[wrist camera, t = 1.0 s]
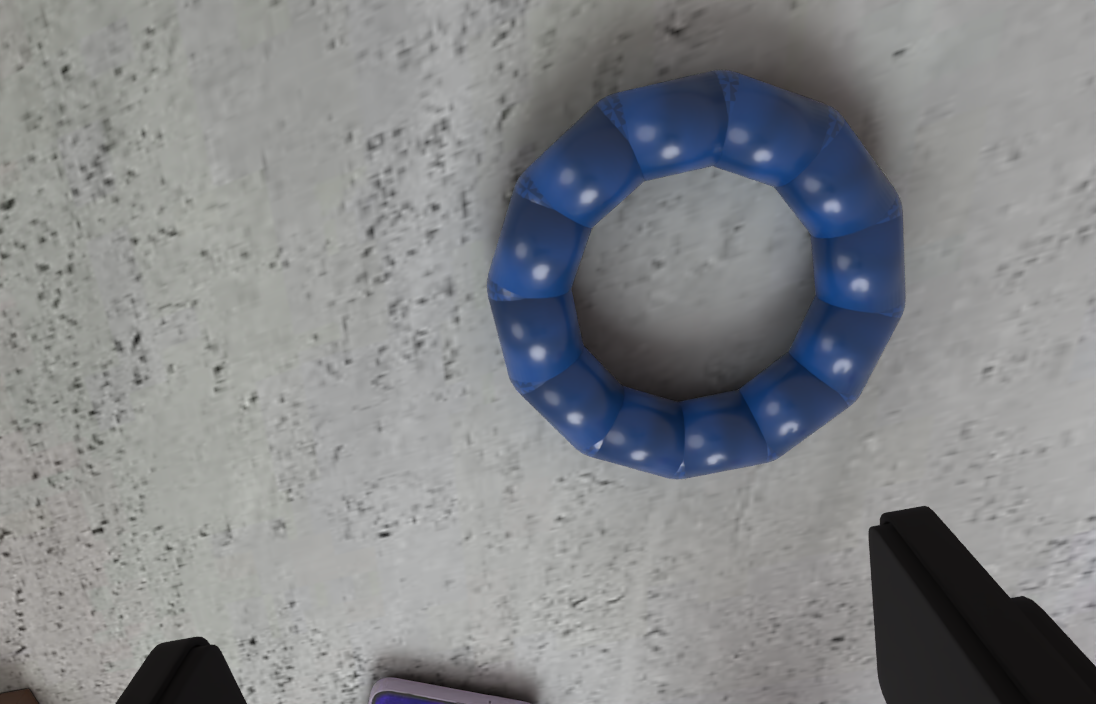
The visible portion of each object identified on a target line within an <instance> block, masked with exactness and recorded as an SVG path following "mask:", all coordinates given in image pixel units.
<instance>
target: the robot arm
mask: <svg viewBox="0 0 1096 704" xmlns="http://www.w3.org/2000/svg"><path fill="white" fill-rule="evenodd" d="M869 550H870V565H871V580H872V595H873V610H874V625H875V641H876V656H877V671H878V679H879V683H880V687H881V690H882V693H883V696H884V698H885V701H886V703H887V704H1096V666H1095V665H1094V664H1093V663H1092V662H1091V661H1090V660H1089V659H1088V658H1087V657H1086V656H1085V654H1084V653H1083V652H1082V651H1081V650H1080V649H1079V648H1078V647H1077V646H1076V645H1075V644H1074V643H1073V641H1072V640H1071V639H1070V638H1069V637H1068V636H1067V635H1066V634H1065V633H1064V632H1063V631H1062V630H1061V629H1060V627H1059V626H1058V625H1057V624H1056V623H1055V622H1054V621H1053V620H1052V619H1051V618H1050V617H1049V616H1048V614H1047V613H1046V612H1045V611H1044V610H1043V609H1042V608H1041V607H1040V606H1038V605H1037V604H1036V603H1035V602H1034V601H1033V600H1031V599H1029V598H1026V597H1024V596H1021V597H1015V598H1010V597H1009V596H1008V595H1007V594H1006V593H1005V592H1004V590H1003V589H1002V588H1001V587H1000V586H999V585H998V584H997V583H996V581H995V580H994V579H993V578H992V577H991V576H990V575H989V573H988V572H987V571H986V570H985V569H984V568H983V567H982V566H981V564H980V563H979V562H978V561H977V560H976V559H975V558H974V557H973V555H972V554H971V553H970V552H969V551H968V550H967V549H966V547H965V546H964V545H963V544H962V543H961V542H960V541H959V540H958V538H957V537H956V536H955V535H954V534H953V533H952V532H951V531H950V529H949V528H948V527H947V526H946V525H945V524H944V523H943V521H942V520H941V519H940V518H939V517H938V516H937V515H936V514H935V512H934V511H933V510H931V509H930V508H929V507H927V506H921V507H915V508H910V509H904V510H899V511H893V512H887V513H884V514H882V515H881V518H880V525H878V526H873V527H870V529H869ZM116 704H247V703H246V701H245V699H244V697H243V695H242V693H241V691H240V689H239V687H238V685H237V683H236V681H235V679H234V677H233V675H232V673H231V670H230V668H229V666H228V664H227V662H226V660H225V658H224V656H223V654H222V652H221V651H220V649H219V648H218V647H217V646H216V645H210V644H209V642H208V641H207V640H206V639H204V638H203V637H192V638H187V639H181V640H175V641H170V642H164V643H161V644H159V645H157V646H156V647H155V648H154V649H153V650H152V651H151V653H150V654H149V656H148V657H147V658H146V660H145V661H144V663H143V664H142V666H141V667H140V669H139V670H138V672H137V673H136V674H135V676H134V677H133V679H132V680H131V682H130V683H129V685H128V686H127V688H126V689H125V691H124V692H123V693H122V695H121V696H120V698H119V699H118V701H117V702H116Z"/></svg>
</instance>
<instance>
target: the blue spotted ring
mask: <svg viewBox="0 0 1096 704" xmlns="http://www.w3.org/2000/svg"><path fill="white" fill-rule="evenodd" d="M711 166H714V167H717V168H720V169H723V170H726V171H729V172H732V173H735V174H738V175H741V176H744V177H747V178H750V179H753V180H756V181H759V182H762V183H764V184H767V185H770V186H773V187H774V188H775V189H776V190H777V192H778V193H779V194H780V195H781V197H782V198H783V199H784V201H785V202H786V203H787V204H788V206H789V207H790V208H791V209H792V211H793V212H794V213H795V215H796V216H797V217H798V218H799V220H800V221H801V222H802V224H803V225H804V226H805V227H806V229H807V230H808V231H809V233H810V234H811V244H812V256H813V268H814V280H815V292H816V295H815V297H814V299H813V301H812V303H811V305H810V307H809V309H808V312H807V314H806V316H805V318H804V320H803V322H802V324H801V326H800V328H799V331H798V333H797V335H796V337H795V339H794V341H793V343H792V345H791V347H790V350H789V351H788V352H787V353H785V354H784V355H783V356H782V357H780V358H779V359H778V360H776V361H775V362H774V363H772V364H771V365H770V366H769V367H767V368H766V369H765V370H763V371H762V372H761V373H759V374H758V375H757V376H755V377H754V378H753V379H752V380H750V381H749V382H748V383H746V384H745V385H744V386H742V387H741V388H740V389H739V390H735V391H730V392H725V393H720V394H715V395H710V396H705V397H700V398H695V399H689V400H684V401H679V402H677V401H673V400H670V399H666V398H663V397H659V396H656V395H653V394H649V393H646V392H642V391H639V390H635V389H632V388H628V387H625V386H622V385H621V384H620V383H619V382H618V381H617V380H616V379H615V378H614V377H613V376H612V375H611V374H610V373H609V372H608V371H607V370H606V369H605V367H604V366H603V365H602V364H601V363H600V362H599V361H598V360H597V359H596V358H595V357H594V356H593V355H592V354H591V353H590V352H589V351H588V350H587V349H586V348H585V347H584V346H583V341H582V337H581V332H580V327H579V323H578V318H577V313H576V309H575V304H574V299H573V295H572V290H571V288H572V285H573V282H574V279H575V276H576V273H577V270H578V267H579V264H580V261H581V259H582V256H583V253H584V250H585V247H586V244H587V241H588V238H589V235H590V232H591V229H592V227H593V226H594V225H596V224H597V223H598V222H599V221H600V220H601V219H602V218H603V217H605V216H606V215H607V214H608V213H609V212H610V211H611V210H612V209H614V208H615V207H616V206H617V205H618V204H619V203H620V202H621V201H623V200H624V199H625V198H626V197H627V196H628V195H629V194H630V193H632V192H633V191H634V190H635V189H636V188H637V187H638V186H639V185H641V184H642V183H643V182H644V181H647V180H652V179H656V178H661V177H665V176H670V175H674V174H679V173H683V172H688V171H692V170H697V169H702V168H706V167H711ZM487 293H488V298H489V302H490V305H491V309H492V313H493V317H494V321H495V325H496V329H497V332H498V336H499V340H500V344H501V348H502V352H503V356H504V359H505V363H506V367H507V371H508V375H509V378H510V380H511V383H512V384H513V386H514V387H515V389H516V390H517V391H518V392H519V393H520V394H521V395H522V396H523V397H524V398H525V399H526V400H527V401H528V402H529V403H530V404H531V405H532V406H533V407H534V408H535V409H536V410H537V411H538V412H539V413H540V414H541V415H542V416H543V417H544V418H545V419H546V420H547V421H548V422H549V423H550V424H551V425H552V426H553V427H554V428H555V429H556V430H557V431H559V432H560V433H561V434H562V435H563V436H564V437H565V438H566V439H567V440H568V441H569V442H570V443H571V444H572V445H573V446H574V447H575V448H576V449H577V450H578V451H580V452H581V453H583V454H585V455H587V456H590V457H593V458H597V459H601V460H604V461H608V462H611V463H615V464H619V465H622V466H626V467H629V468H633V469H637V470H640V471H644V472H648V473H651V474H655V475H658V476H662V477H666V478H670V479H686V478H691V477H696V476H701V475H706V474H712V473H717V472H722V471H727V470H733V469H738V468H743V467H748V466H753V465H759V464H764V463H768V462H771V461H774V460H776V459H778V458H779V457H781V456H782V455H784V454H785V453H786V452H788V451H789V450H790V449H792V448H793V447H795V446H796V445H797V444H799V443H800V442H801V441H803V440H804V439H806V438H807V437H808V436H810V435H811V434H812V433H814V432H815V431H817V430H818V429H819V428H821V427H822V426H823V425H825V424H826V423H828V422H829V421H830V420H832V419H833V418H834V417H836V416H837V415H839V414H840V413H841V412H843V411H844V410H845V409H847V408H848V407H850V406H851V405H852V404H853V403H854V402H855V401H856V400H857V399H858V397H859V396H860V394H861V393H862V391H863V389H864V387H865V385H866V383H867V381H868V379H869V377H870V375H871V373H872V372H873V370H874V368H875V366H876V364H877V362H878V360H879V358H880V356H881V354H882V353H883V351H884V349H885V347H886V345H887V343H888V341H889V339H890V337H891V335H892V333H893V332H894V330H895V328H896V326H897V324H898V322H899V320H900V318H901V316H902V314H903V311H904V308H905V299H906V294H905V266H904V237H903V210H902V204H901V200H900V198H899V195H898V194H897V192H896V190H895V189H894V187H893V186H892V184H891V183H890V182H889V180H888V179H887V178H886V176H885V175H884V173H883V172H882V171H881V169H880V168H879V166H878V165H877V164H876V162H875V161H874V159H873V158H872V157H871V155H870V154H869V152H868V151H867V150H866V148H865V147H864V146H863V144H862V143H861V141H860V140H859V139H858V137H857V136H856V134H855V133H854V132H853V130H852V129H851V127H850V126H849V125H848V123H847V122H846V120H845V119H844V118H843V117H842V116H841V114H840V113H839V112H838V111H837V110H835V109H834V108H832V107H831V106H828V105H826V104H824V103H821V102H819V101H816V100H813V99H810V98H807V97H805V96H802V95H799V94H796V93H793V92H790V91H788V90H785V89H782V88H779V87H776V86H774V85H771V84H768V83H765V82H762V81H759V80H757V79H754V78H751V77H748V76H745V75H743V74H740V73H737V72H733V71H730V70H714V71H709V72H704V73H700V74H696V75H691V76H687V77H683V78H678V79H674V80H670V81H665V82H661V83H657V84H652V85H648V86H644V87H639V88H635V89H631V90H626V91H622V92H618V93H614V94H611V95H608V96H607V97H605V98H603V99H601V100H600V101H599V102H598V103H596V104H595V105H594V106H593V107H592V108H591V109H590V110H589V111H588V112H586V113H585V114H584V115H583V116H582V117H581V118H580V119H579V120H578V121H577V122H576V123H575V124H574V125H573V126H572V127H571V128H569V129H568V130H567V131H566V132H565V133H564V134H563V135H562V136H561V137H560V138H559V139H558V140H557V141H556V142H555V143H554V144H552V145H551V146H550V147H549V148H548V149H547V150H546V151H545V152H544V153H543V154H542V155H541V156H540V157H539V158H538V159H537V160H535V161H534V162H533V163H532V164H531V165H530V166H529V167H528V168H527V169H526V170H525V171H524V172H523V173H522V174H521V176H520V177H519V179H518V180H517V182H516V184H515V187H514V190H513V193H512V197H511V200H510V203H509V207H508V210H507V213H506V217H505V220H504V224H503V227H502V230H501V234H500V237H499V240H498V244H497V247H496V250H495V254H494V257H493V260H492V264H491V267H490V271H489V274H488V278H487Z"/></svg>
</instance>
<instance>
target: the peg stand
mask: <svg viewBox="0 0 1096 704" xmlns="http://www.w3.org/2000/svg"><path fill="white" fill-rule="evenodd" d="M0 704H38V702H37V701H36V699H35V697H34V696H33V694H32V693H31V691H30V690H29V689H23V690H18V691H12V692H7V693H1V694H0Z"/></svg>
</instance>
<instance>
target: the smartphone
mask: <svg viewBox="0 0 1096 704" xmlns="http://www.w3.org/2000/svg"><path fill="white" fill-rule="evenodd" d="M368 704H530V703H527V702H525V701H520V700H515V699H509V698H504V697H499V696H493V695H485V694H480V693H474V692H469V691H464V690H458V689H453V688H447V687H442V686H437V685H431V684H426V683H420V682H415V681H410V680H404V679H399V678H392V677H387V678H382V679H380V680H378V681H377V682H376V683H375V685H374V686H373V688H372V690H371V693H370V698H369V703H368Z"/></svg>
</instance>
